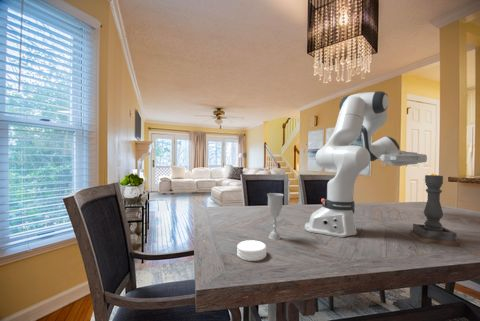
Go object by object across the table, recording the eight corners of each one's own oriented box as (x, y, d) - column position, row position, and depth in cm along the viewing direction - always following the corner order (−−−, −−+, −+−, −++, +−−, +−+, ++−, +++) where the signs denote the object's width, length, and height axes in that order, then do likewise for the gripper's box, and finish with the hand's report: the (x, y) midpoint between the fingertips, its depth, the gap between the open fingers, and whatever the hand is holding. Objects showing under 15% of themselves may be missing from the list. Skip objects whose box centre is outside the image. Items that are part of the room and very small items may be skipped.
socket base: (422, 242, 89) (422, 231, 89) (409, 233, 101) (410, 223, 101) (460, 246, 86) (460, 234, 86) (442, 236, 97) (442, 225, 97)
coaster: (241, 248, 82) (241, 238, 82) (268, 251, 80) (268, 241, 80) (233, 259, 73) (233, 248, 73) (264, 263, 70) (264, 252, 70)
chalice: (262, 236, 95) (263, 193, 95) (276, 233, 98) (276, 192, 98) (273, 241, 88) (273, 196, 88) (286, 239, 91) (287, 195, 91)
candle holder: (446, 238, 90) (447, 176, 90) (429, 237, 91) (430, 176, 91) (436, 233, 96) (437, 175, 96) (419, 232, 97) (420, 175, 97)
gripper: (377, 152, 129) (384, 151, 116) (419, 152, 123) (432, 151, 110) (377, 163, 129) (384, 164, 116) (419, 164, 123) (432, 164, 110)
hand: (408, 158), depth 113 cm, fingers open, 8 cm apart
